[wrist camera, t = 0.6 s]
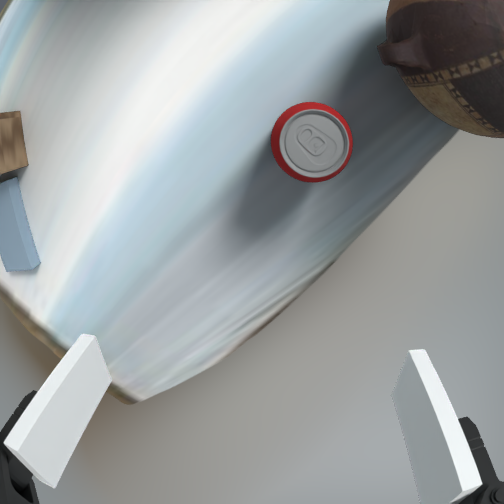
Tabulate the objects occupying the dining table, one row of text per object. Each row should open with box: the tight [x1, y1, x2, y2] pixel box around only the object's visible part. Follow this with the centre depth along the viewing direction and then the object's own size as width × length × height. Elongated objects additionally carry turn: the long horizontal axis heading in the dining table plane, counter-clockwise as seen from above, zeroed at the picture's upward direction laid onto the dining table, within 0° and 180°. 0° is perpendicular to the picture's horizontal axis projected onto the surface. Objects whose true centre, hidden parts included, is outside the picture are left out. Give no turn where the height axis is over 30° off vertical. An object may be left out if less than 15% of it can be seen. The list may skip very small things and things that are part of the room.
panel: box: [0, 177, 41, 272], centre depth 40 cm, size 15×8×3 cm, turn 7°
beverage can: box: [271, 102, 353, 182], centre depth 27 cm, size 7×7×12 cm
